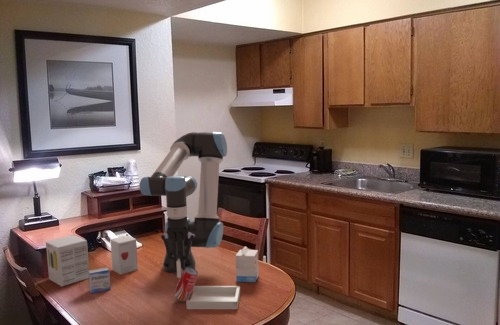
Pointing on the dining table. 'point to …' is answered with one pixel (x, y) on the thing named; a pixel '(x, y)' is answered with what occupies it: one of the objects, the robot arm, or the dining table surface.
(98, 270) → the medicine box
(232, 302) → the tray
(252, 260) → the ink box
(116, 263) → the supplement box
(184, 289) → the soda can
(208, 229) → the robot arm
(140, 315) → the dining table surface
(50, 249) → the supplement box
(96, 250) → the dining table surface
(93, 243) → the dining table surface
